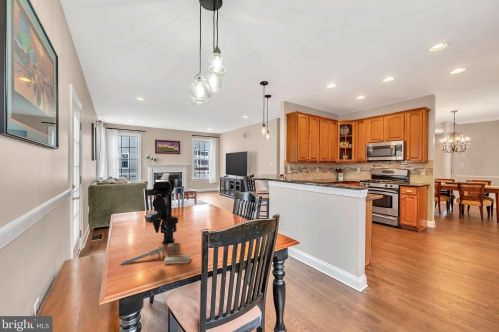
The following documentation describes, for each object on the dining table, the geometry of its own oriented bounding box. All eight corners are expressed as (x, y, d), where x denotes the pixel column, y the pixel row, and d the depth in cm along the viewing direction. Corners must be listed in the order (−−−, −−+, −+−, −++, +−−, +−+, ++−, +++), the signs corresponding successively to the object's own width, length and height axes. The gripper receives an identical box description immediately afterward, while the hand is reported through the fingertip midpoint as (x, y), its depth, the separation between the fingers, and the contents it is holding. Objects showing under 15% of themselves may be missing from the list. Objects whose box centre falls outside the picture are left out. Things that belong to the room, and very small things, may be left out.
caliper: (164, 255, 113) (164, 244, 113) (164, 256, 112) (164, 244, 112) (119, 264, 102) (119, 252, 102) (119, 265, 102) (119, 253, 101)
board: (166, 259, 107) (166, 255, 107) (190, 258, 109) (190, 254, 109) (164, 264, 103) (164, 259, 103) (189, 262, 105) (189, 258, 105)
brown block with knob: (169, 254, 114) (169, 243, 114) (177, 253, 115) (177, 242, 115) (167, 257, 110) (167, 246, 109) (176, 257, 110) (176, 245, 110)
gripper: (136, 205, 105) (137, 235, 106) (158, 210, 95) (158, 244, 95) (157, 201, 114) (157, 229, 115) (178, 206, 104) (178, 236, 105)
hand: (162, 234), depth 107 cm, fingers open, 9 cm apart
